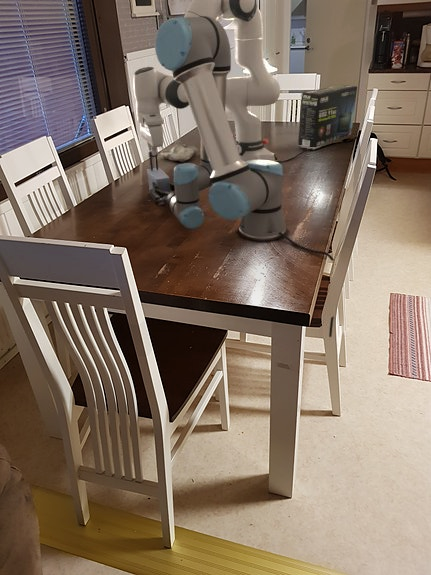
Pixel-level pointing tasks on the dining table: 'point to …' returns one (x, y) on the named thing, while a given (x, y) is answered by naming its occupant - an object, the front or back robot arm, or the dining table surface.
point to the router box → (326, 115)
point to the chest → (159, 185)
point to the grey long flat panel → (156, 171)
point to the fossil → (179, 152)
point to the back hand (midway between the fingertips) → (153, 153)
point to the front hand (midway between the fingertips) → (161, 184)
